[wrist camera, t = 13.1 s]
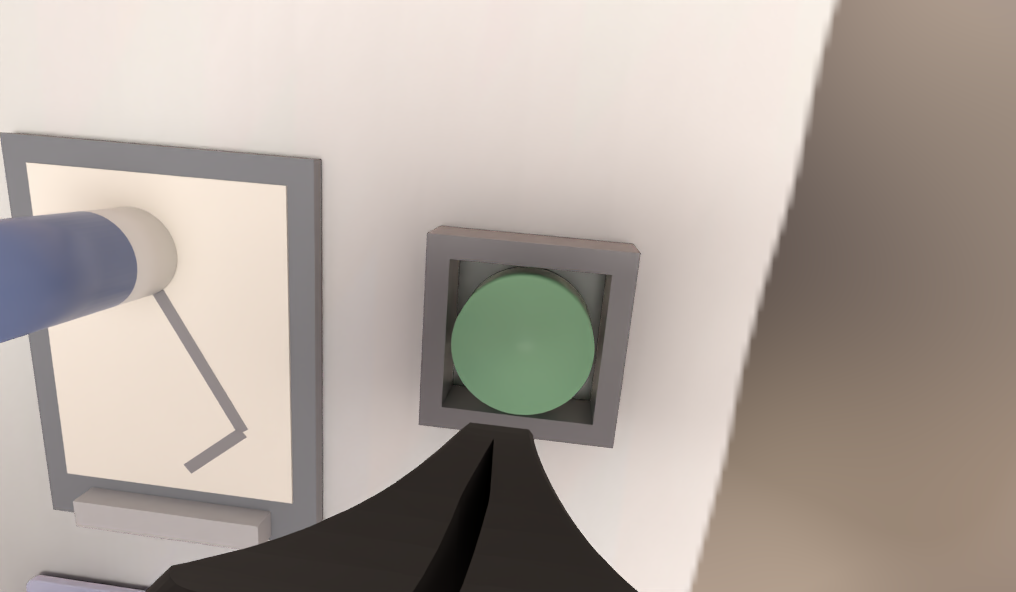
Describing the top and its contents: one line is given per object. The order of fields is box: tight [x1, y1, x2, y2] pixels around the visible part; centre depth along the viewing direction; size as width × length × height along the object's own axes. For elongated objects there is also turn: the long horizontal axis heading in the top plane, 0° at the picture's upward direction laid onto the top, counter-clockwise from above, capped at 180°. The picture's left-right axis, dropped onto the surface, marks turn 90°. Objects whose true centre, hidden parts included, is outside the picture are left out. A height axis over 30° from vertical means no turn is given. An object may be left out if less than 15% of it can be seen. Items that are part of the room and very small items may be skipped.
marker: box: [0, 207, 177, 343], centre depth 18 cm, size 3×3×7 cm
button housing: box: [419, 226, 641, 448], centre depth 20 cm, size 7×7×2 cm
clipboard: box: [0, 132, 322, 549], centre depth 22 cm, size 16×12×2 cm
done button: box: [451, 267, 595, 415], centre depth 19 cm, size 5×5×2 cm
